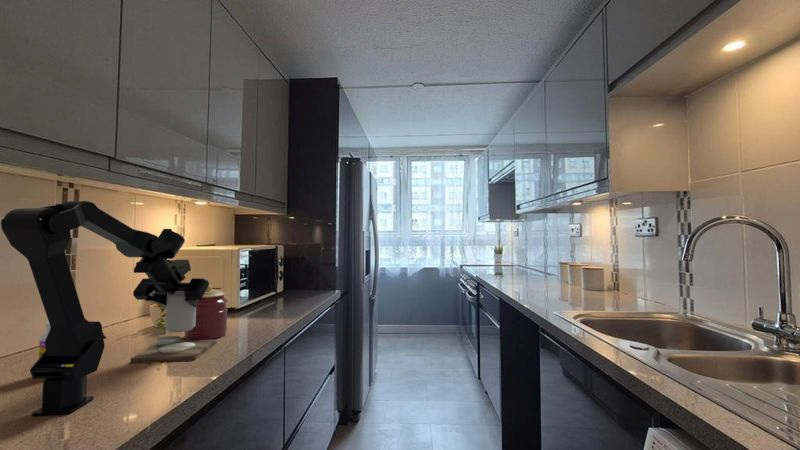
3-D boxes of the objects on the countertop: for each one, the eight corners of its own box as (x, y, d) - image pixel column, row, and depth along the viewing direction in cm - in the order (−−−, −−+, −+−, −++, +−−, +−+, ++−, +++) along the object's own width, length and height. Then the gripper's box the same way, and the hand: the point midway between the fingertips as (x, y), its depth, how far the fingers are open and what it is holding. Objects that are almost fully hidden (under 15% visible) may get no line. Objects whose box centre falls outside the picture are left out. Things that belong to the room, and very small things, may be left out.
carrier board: (194, 359, 96) (194, 349, 96) (130, 362, 93) (130, 352, 94) (217, 342, 112) (217, 334, 112) (163, 345, 110) (163, 336, 110)
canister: (200, 343, 112) (201, 287, 113) (175, 338, 117) (176, 285, 118) (235, 333, 123) (236, 283, 124) (210, 329, 129) (212, 281, 130)
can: (188, 332, 100) (190, 290, 100) (159, 333, 99) (161, 290, 99) (199, 326, 107) (201, 287, 108) (173, 327, 106) (174, 287, 107)
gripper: (206, 250, 100) (225, 285, 110) (142, 250, 101) (167, 285, 111) (188, 280, 92) (210, 315, 102) (118, 280, 92) (147, 315, 102)
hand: (184, 306), depth 104 cm, fingers closed on can, 7 cm apart
